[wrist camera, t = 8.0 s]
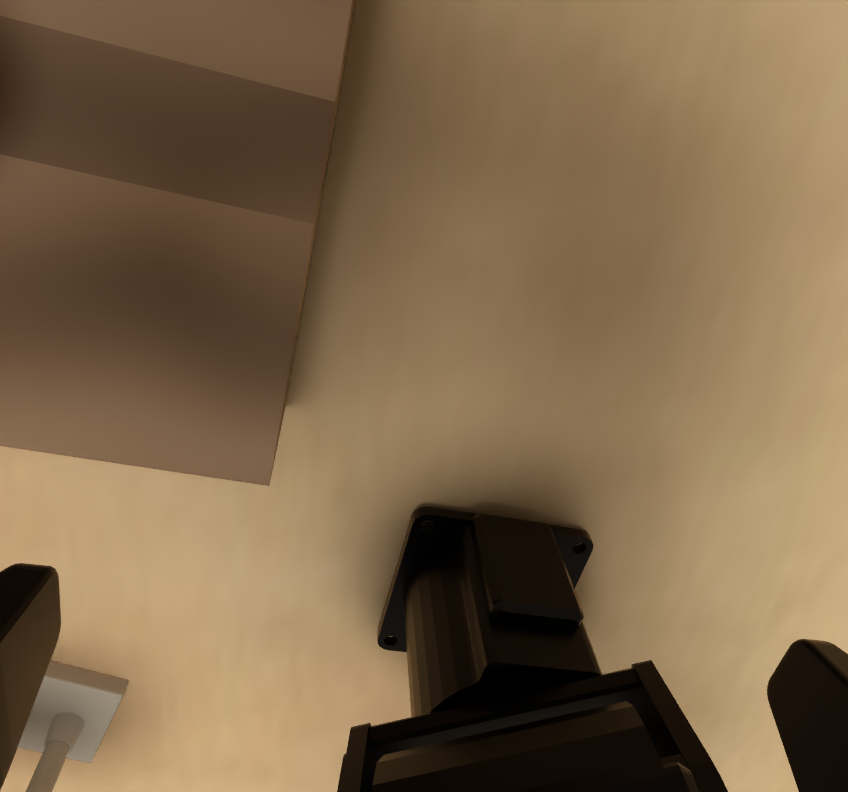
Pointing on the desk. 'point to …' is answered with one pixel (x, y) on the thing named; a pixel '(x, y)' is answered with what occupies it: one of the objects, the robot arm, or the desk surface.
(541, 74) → the desk surface
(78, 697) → the test tube rack
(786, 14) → the desk surface
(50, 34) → the press housing
